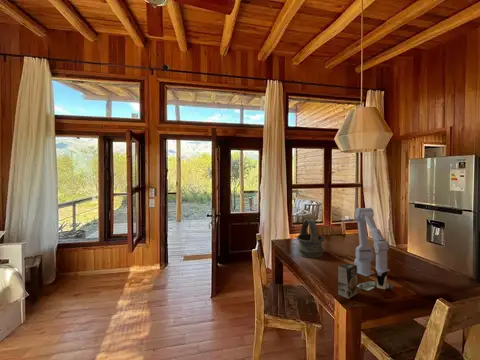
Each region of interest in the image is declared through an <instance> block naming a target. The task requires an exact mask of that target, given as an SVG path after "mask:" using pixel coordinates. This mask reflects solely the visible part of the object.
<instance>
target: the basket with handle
mask: <svg viewBox="0 0 480 360" xmlns="http://www.w3.org/2000/svg"><path fill="white" fill-rule="evenodd" d="M308 227H309V232H310V233H308ZM299 230H300V232H299V234H298V235H297V236H296V239H297V241H299V243H298V245H297V250H298V255H299V254H300V255H302V256H301V257H303V256H304V257H303V258H307V257H309V258H310V259H317V258H321V257H322V256H323V251H324V248H323V245H322V242H324V241H325V238H324V237H323V236H321V235H319V232H318V228H317V223H316V221H315V219H313V218H310V219H308V218H305V219H304V221H303V223H302V224H301V227H300V229H299ZM300 255H299V256H300ZM309 258H308V259H309Z"/></svg>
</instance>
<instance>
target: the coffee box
mask: <svg viewBox="0 0 480 360" xmlns="http://www.w3.org/2000/svg"><path fill="white" fill-rule="evenodd" d="M337 267H338V271H337V272H338V277H337V279H338V283H337V285H338V287H337V288H338V293H337V294H338V295H339V296H342V297H344V298H346V299H348V300H349V299H351V298H352V297H354V296H356V295H357V294H358V287H357V285H358V273H357V265H354V263H349V262H346V263H343V264H341V265H338V266H337Z"/></svg>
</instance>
